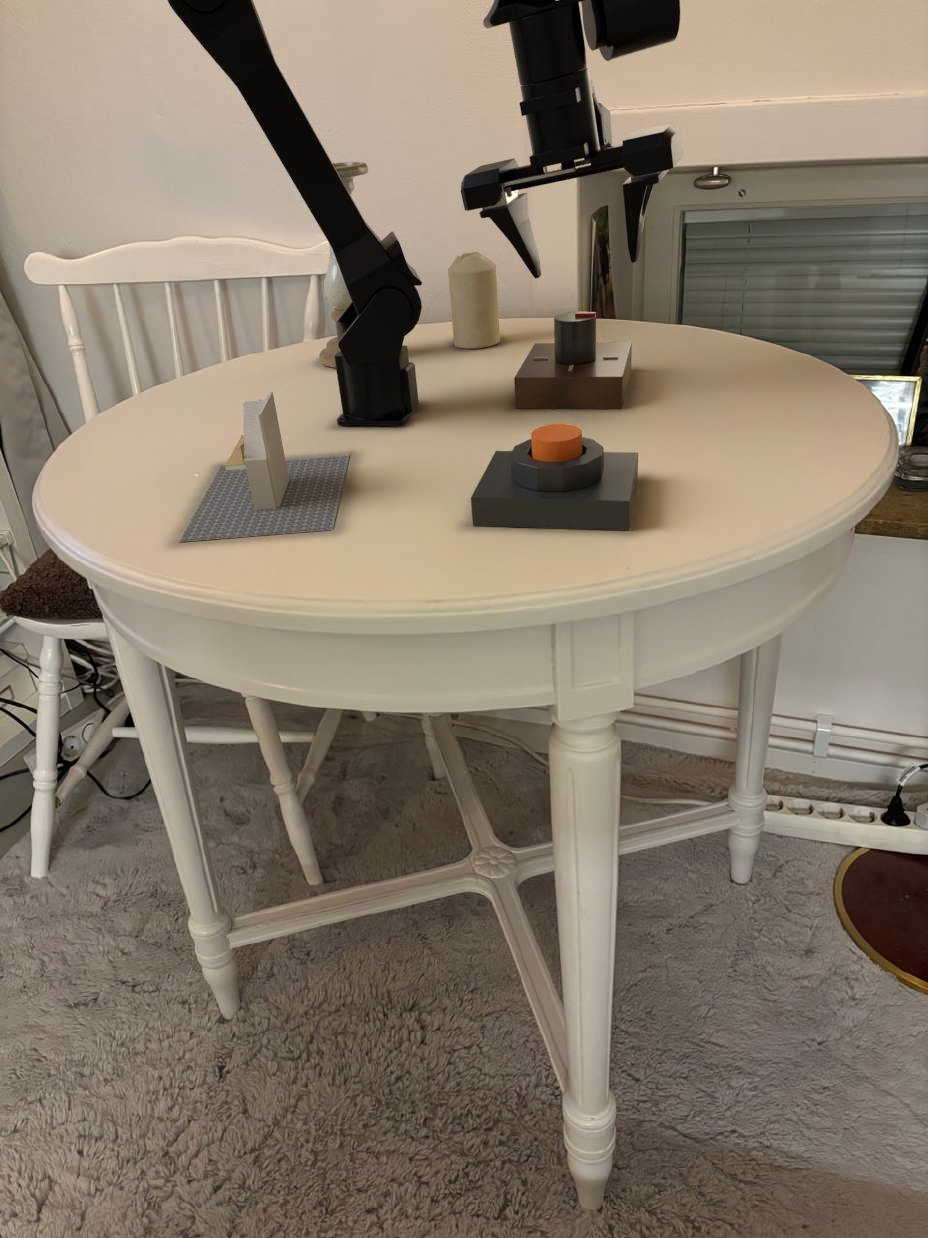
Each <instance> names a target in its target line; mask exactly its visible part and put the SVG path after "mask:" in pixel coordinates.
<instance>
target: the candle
mask: <svg viewBox="0 0 928 1238" xmlns="http://www.w3.org/2000/svg"><path fill="white" fill-rule="evenodd" d="M447 273H448V287H449V299H450V300H449V301H450V312H451V323H452V324H451V325H452V336H453V343H454V346H455V347H457V348H461V349H482V348H489V347H492V346H494V345H497V344H499V343H500V338H501V334H500V316H499V314H500V313H499V312H500V311H499V298H498V297H499V295H498V281H497V280H498V278H497V277H498V276H497V265H496V264H495V263H494V262H493V261H492V260H491V259H489V258H488V257H487V256H486V255H484V254H482V253H480V252H478V251H471V252H465V253H462V254H461V255H456V257H455V258H454V260H453V262H452V263H451V264H450V266H449V267H448V269H447Z"/></svg>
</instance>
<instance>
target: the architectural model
mask: <svg viewBox="0 0 928 1238" xmlns="http://www.w3.org/2000/svg"><path fill="white" fill-rule="evenodd" d="M277 413H278V412H277V407H276V403H275V397H274V392H273V391H269V392H268V395H267V396H266V398H265V399H259V400H250V401H249V400H248V401H243V434H241V436H240V438H239V439H238V441H237V443H236V445H235V447H234V448H233V451H232V452H231V454H230V456H229V457H228V459H227V462H226V463H225V464H224V465H220V467H219V469H218V470H217V472H216V474H215V476H214V478H213V480H212V481H211V483H210V485H209V487H208V488H207V490H206V492H205V494H204V496H203V498H202V499H201V501H200V503H199V505H198V506H197V508H196V510H195V512H194V514H193V516H192V518H191V519H190V521H189V523H188V525H187V527H186V529H185V530H184V532H183V534H182V536H181V538H179V541H178V542H179V543H184V542H196V541H197V542H198V541H207V540H208V541H209V540H220V539H221V540H222V539H233V538H235V539H236V538H246V537H259V536H271V535H283V534H297V533H311V532H323V531H333V530H334V526H335V521H336V518H337V513H338V509H339V506H340V500H341V496H342V491H343V487H344V482H345V478H346V474H347V469H348V465H349V461H350V457H351V456H350V454H348V455H335V456H324V457H311V458H298V459H286V455H285V450H284V445H283V439H282V434H281V429H280V424H279V417H278V414H277Z"/></svg>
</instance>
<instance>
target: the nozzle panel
mask: <svg viewBox="0 0 928 1238" xmlns="http://www.w3.org/2000/svg"><path fill="white" fill-rule="evenodd" d="M632 349H633V342H632V341H598V342H597V341H596V359H595V360H593V361H590V362H587V363H581V364H564V363H559V362H557V361H556V360H555V343H554V342H541V343H540V342H537V343H534V344H533V346H532V347H531V349H530V351H529V352H528V354H527V356H526V357H525V359H524V361H523V363H522V364H521V366H519V369H518V371H517V372H516V374H515V376H514V377H513V381H514V382H513V383H514V404H515V409H516V410H519V409H520V410H524V409H525V410H526V409H527V410H544V409H545V410H546V409H547V410H548V409H549V410H551V409H553V410H554V409H555V410H566V409H567V410H568V409H569V410H573V409H574V410H582V409H584V410H585V409H587V410H596V409H597V410H603V409H604V410H607V409H608V410H610V409H611V410H612V409H613V410H618V409H619V410H622V409H623V407H624V401H625V397H626V394H627V389H628V385H629V381H630V377H631V374H632V357H633V356H632V354H633V353H632V352H633V351H632Z"/></svg>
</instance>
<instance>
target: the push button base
mask: <svg viewBox="0 0 928 1238" xmlns="http://www.w3.org/2000/svg"><path fill="white" fill-rule="evenodd" d="M604 450H605V447H604V445H602V444H601V443H599V442H598V441H596V440H595V439H593V438H588V437H584V436H582V456H581V457H579V458H577V459H573V460H568V461H562V462H544V461H541V460H537V459H533V458H532V442H531V438H529V439H527V440H524V441H523V442H521V443H518V444H516V445H515V446H513V449H512V450H495V452H494V453H493V455H492V457H491V459H490V461H489V463H488V465H487V467H486V469H485V470H484V472H483V474H482V476H481V478H480V480H479V481H478V484H477V486H476V487H475V489H474V491H473V493H472V495H471V497H470V505H471V517H472V518H471V519H472V526H473V527H501V528H503V527H504V528H505V527H506V528H507V527H508V528H512V527H513V528H535V529H537V528H538V529H567V530H569V529H570V530H599V531H600V530H601V531H605V530H606V531H630V526H631V521H632V520H631V519H632V515H633V508H634V502H635V497H636V491H637V485H638V479H639V478H638V475H639V452H633V451H632V452H627V451H625V452H624V451H604Z"/></svg>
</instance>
